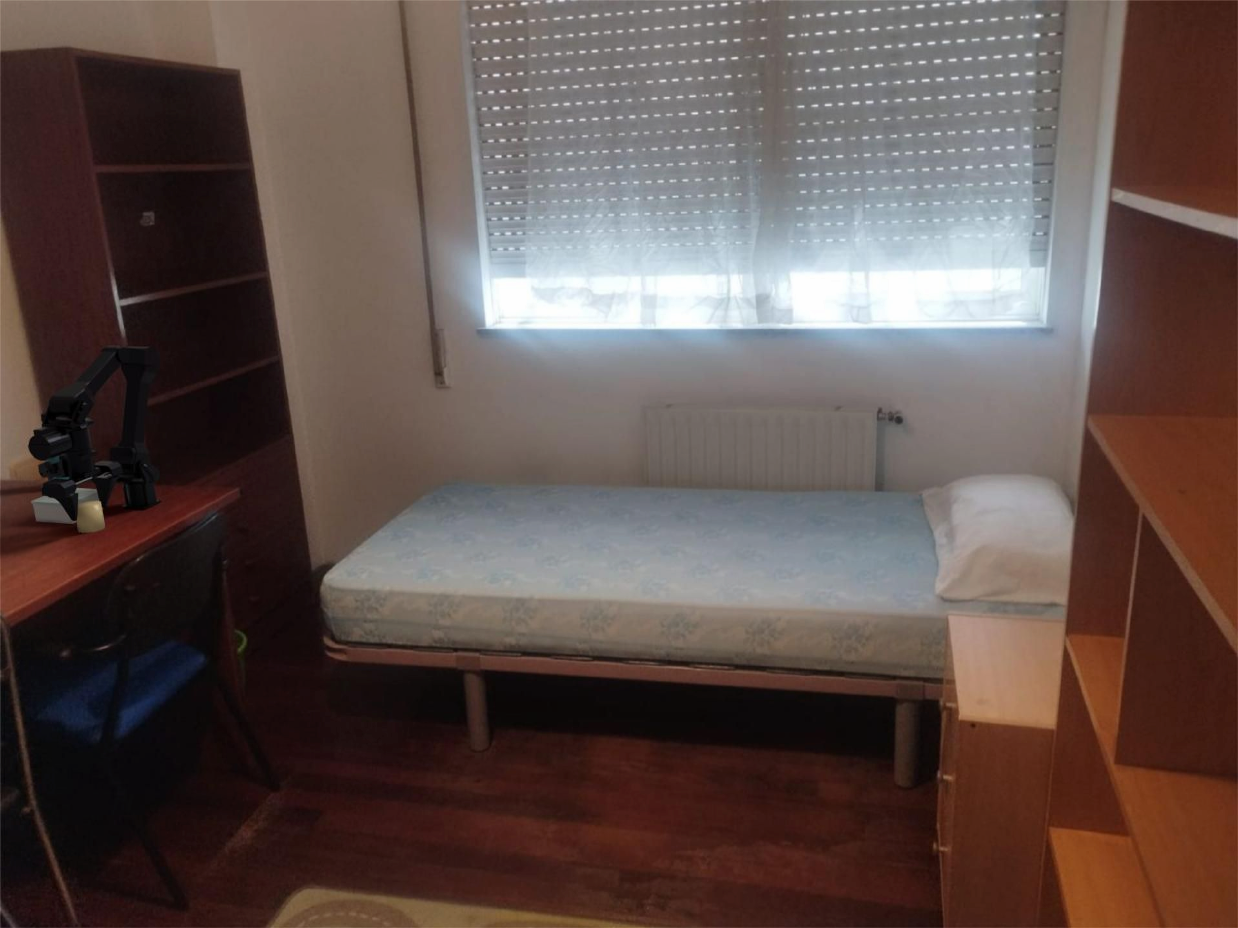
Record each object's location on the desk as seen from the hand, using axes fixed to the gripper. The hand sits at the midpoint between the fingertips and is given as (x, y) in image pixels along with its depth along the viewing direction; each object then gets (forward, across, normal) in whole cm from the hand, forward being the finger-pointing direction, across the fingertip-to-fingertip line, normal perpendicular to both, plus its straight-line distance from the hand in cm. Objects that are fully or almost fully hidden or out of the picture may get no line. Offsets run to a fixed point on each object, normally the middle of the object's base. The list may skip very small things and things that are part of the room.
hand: (89, 514), depth 220 cm
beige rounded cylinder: (+4, 0, 0) cm, 4 cm away
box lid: (-1, -7, -12) cm, 14 cm away
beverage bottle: (+4, -27, -32) cm, 42 cm away
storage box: (+4, -7, -12) cm, 14 cm away
